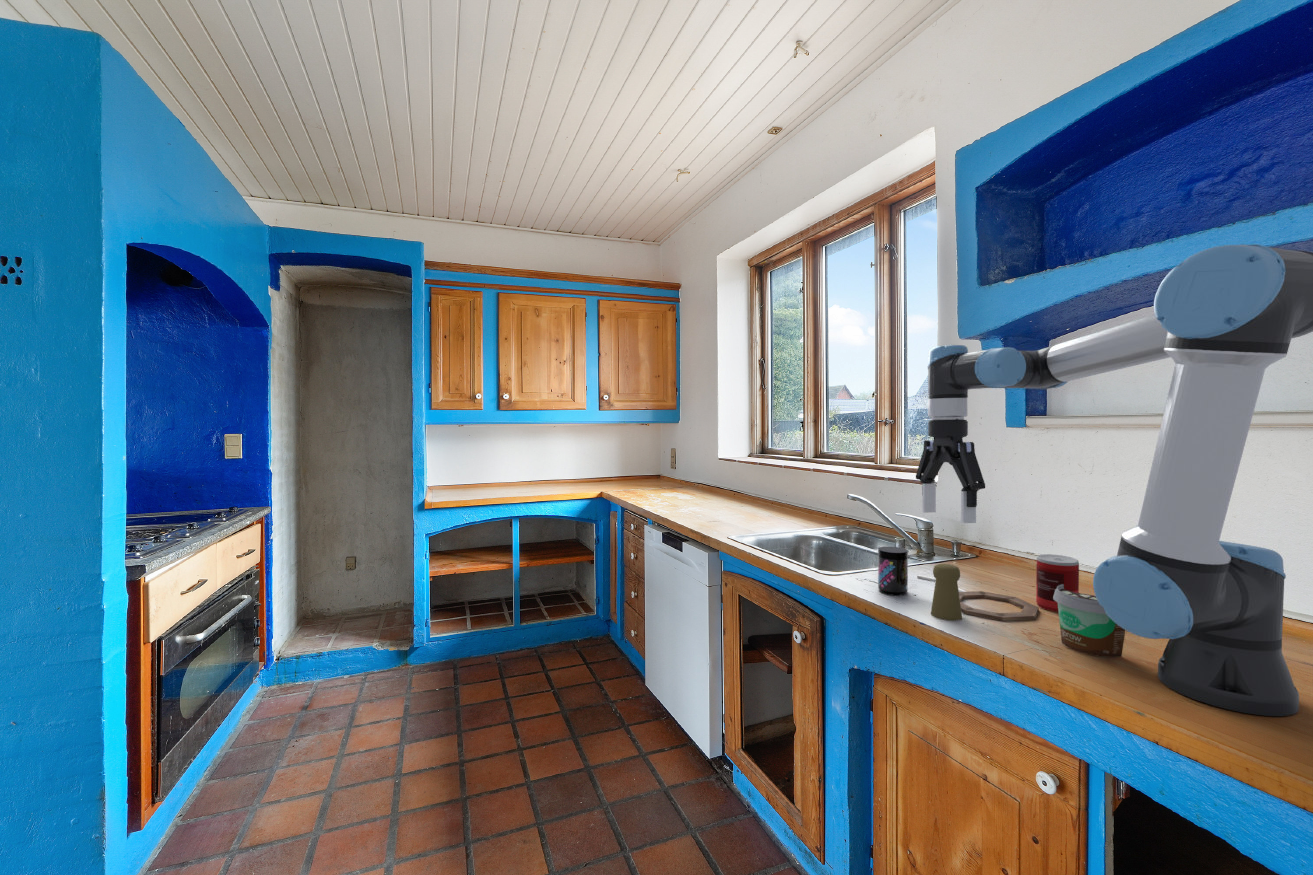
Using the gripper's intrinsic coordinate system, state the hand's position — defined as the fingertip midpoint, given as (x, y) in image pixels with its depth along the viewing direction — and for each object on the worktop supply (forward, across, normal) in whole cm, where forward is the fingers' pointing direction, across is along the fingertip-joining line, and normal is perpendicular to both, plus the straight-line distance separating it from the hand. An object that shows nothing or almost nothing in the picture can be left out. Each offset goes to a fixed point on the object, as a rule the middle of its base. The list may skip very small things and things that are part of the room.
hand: (947, 517), depth 120 cm
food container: (+21, -20, -12) cm, 32 cm away
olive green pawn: (+21, -1, +1) cm, 21 cm away
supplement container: (+21, +16, +4) cm, 27 cm away
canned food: (+21, 0, -26) cm, 33 cm away
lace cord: (+21, +19, -11) cm, 30 cm away
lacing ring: (+21, +3, -12) cm, 24 cm away
